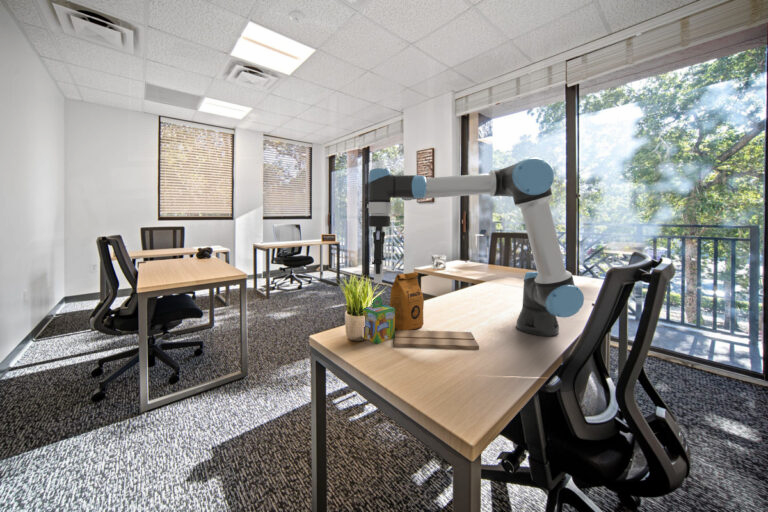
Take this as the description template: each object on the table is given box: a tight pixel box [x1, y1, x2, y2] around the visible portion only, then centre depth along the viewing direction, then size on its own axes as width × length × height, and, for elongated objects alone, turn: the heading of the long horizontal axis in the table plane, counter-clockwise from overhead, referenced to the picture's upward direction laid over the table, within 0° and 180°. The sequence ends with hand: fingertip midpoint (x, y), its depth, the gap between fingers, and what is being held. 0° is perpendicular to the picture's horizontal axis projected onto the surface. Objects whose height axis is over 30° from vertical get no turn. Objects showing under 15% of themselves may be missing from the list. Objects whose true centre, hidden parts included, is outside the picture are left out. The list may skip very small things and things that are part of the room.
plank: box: [394, 329, 476, 340], centre depth 114 cm, size 28×6×1 cm, turn 87°
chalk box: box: [362, 296, 396, 345], centre depth 114 cm, size 9×9×15 cm
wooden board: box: [393, 337, 480, 351], centre depth 112 cm, size 28×12×2 cm, turn 87°
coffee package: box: [389, 271, 425, 330], centre depth 123 cm, size 10×12×22 cm
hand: (378, 280), depth 112 cm, fingers open, 7 cm apart
